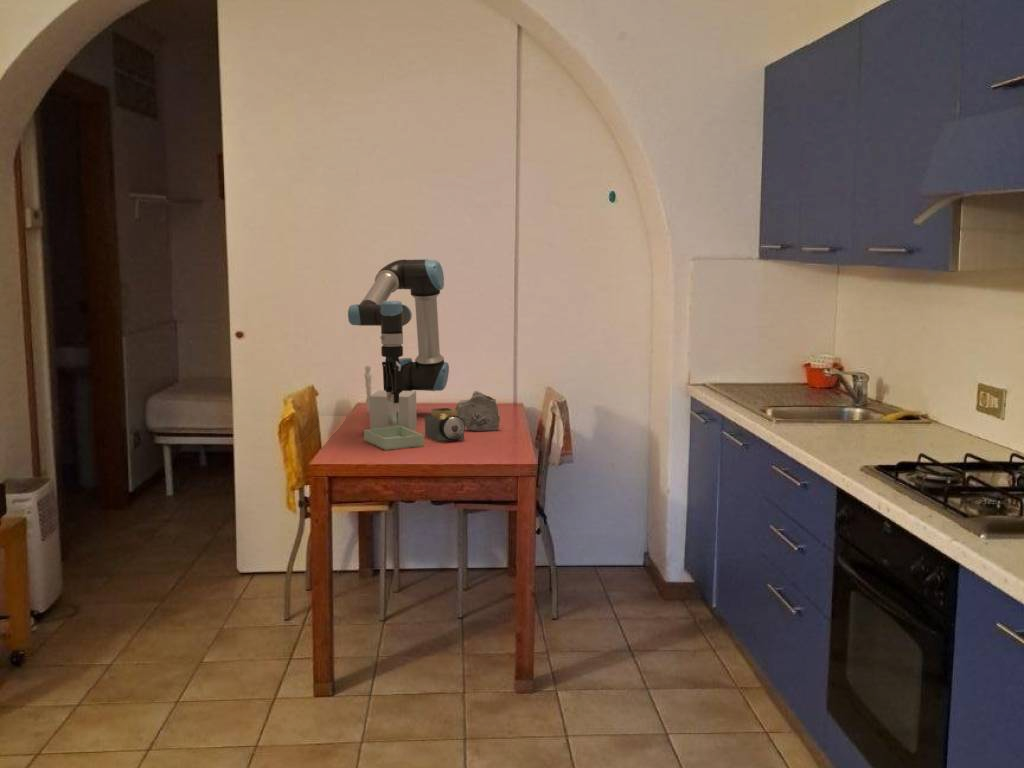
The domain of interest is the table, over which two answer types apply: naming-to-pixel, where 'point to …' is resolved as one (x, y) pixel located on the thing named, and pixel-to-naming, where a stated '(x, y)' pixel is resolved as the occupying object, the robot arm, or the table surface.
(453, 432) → the block
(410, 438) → the tray
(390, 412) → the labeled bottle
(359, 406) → the table surface
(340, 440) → the table surface
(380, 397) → the grey box
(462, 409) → the fossil
